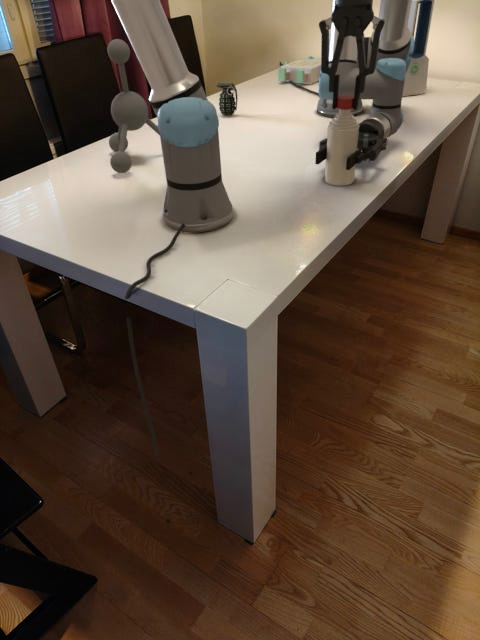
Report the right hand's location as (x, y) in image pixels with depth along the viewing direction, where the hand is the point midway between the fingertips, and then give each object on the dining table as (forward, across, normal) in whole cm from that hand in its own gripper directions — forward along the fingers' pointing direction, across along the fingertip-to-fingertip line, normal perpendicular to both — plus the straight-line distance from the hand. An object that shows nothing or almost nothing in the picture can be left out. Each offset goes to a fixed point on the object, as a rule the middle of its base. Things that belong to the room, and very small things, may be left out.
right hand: (332, 161), depth 113 cm
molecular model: (+6, +55, -6) cm, 55 cm away
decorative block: (-99, +60, -6) cm, 116 cm away
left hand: (-5, 0, +11) cm, 12 cm away
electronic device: (-91, +14, -6) cm, 92 cm away
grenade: (-40, +58, -6) cm, 71 cm away
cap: (-5, 0, +13) cm, 14 cm away
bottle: (-5, 0, -6) cm, 8 cm away
